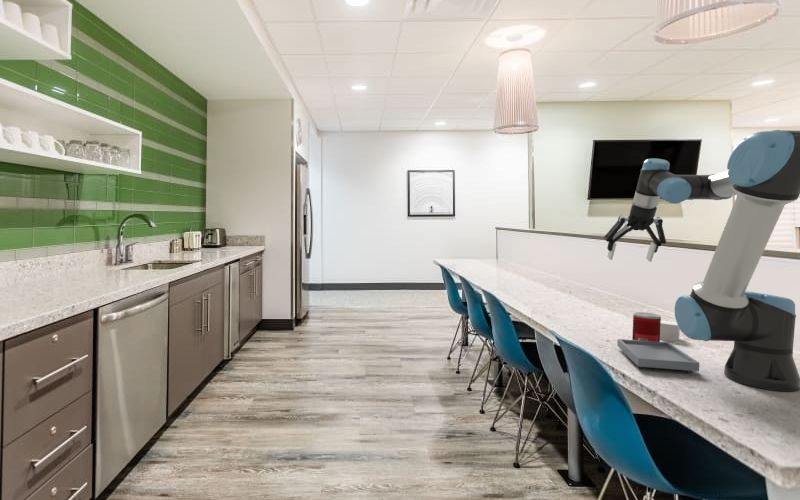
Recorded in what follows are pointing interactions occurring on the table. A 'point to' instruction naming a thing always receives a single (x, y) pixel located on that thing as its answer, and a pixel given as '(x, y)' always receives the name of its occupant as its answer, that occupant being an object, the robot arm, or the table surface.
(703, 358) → the table surface
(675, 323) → the light grey cube
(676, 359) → the grey tray
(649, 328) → the canned food
